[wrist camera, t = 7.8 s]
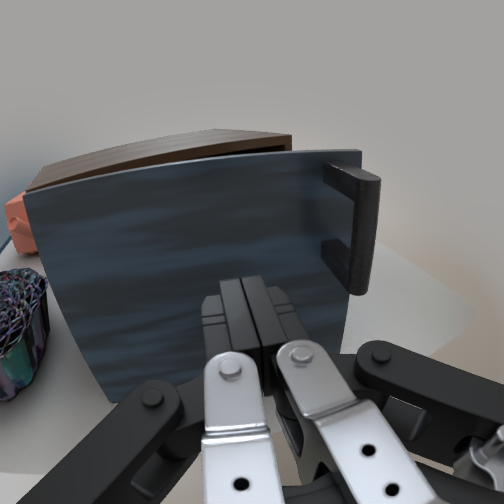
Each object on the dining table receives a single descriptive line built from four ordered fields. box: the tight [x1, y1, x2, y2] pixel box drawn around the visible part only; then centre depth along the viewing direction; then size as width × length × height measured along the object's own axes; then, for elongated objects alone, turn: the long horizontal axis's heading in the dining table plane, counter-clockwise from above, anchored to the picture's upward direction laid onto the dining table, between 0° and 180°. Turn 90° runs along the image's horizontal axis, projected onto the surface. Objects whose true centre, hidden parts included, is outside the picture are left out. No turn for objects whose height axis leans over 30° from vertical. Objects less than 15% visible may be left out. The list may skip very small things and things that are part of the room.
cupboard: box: [25, 129, 292, 193], centre depth 37 cm, size 18×26×24 cm
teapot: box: [5, 183, 38, 254], centre depth 64 cm, size 25×23×18 cm
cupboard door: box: [22, 149, 381, 402], centre depth 23 cm, size 7×26×24 cm, turn 101°
